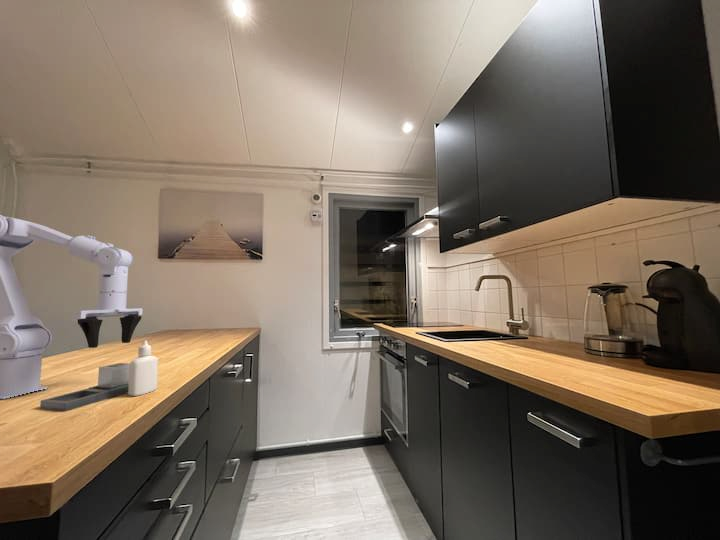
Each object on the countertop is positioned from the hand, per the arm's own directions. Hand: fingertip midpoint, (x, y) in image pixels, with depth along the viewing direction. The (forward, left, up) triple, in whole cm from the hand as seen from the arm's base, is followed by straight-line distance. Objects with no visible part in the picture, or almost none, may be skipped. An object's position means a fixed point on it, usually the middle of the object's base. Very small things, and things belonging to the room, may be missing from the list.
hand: (110, 345), depth 75 cm
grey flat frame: (+7, -7, -10) cm, 14 cm away
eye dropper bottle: (+15, -2, -11) cm, 18 cm away
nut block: (+7, -3, -10) cm, 13 cm away
